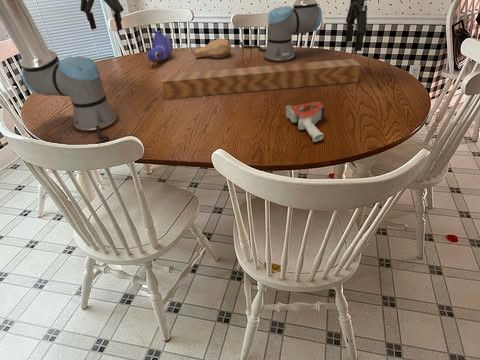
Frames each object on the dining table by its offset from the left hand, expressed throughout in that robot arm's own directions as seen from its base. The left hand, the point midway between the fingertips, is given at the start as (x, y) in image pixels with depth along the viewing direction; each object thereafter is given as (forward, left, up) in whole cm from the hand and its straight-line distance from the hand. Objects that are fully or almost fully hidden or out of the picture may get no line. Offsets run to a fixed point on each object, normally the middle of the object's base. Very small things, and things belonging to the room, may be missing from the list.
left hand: (106, 29), depth 154 cm
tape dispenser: (-52, -80, -23) cm, 99 cm away
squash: (+31, -42, -23) cm, 57 cm away
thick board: (-15, -66, -23) cm, 72 cm away
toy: (+27, -14, -23) cm, 38 cm away
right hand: (-10, -105, -9) cm, 105 cm away
